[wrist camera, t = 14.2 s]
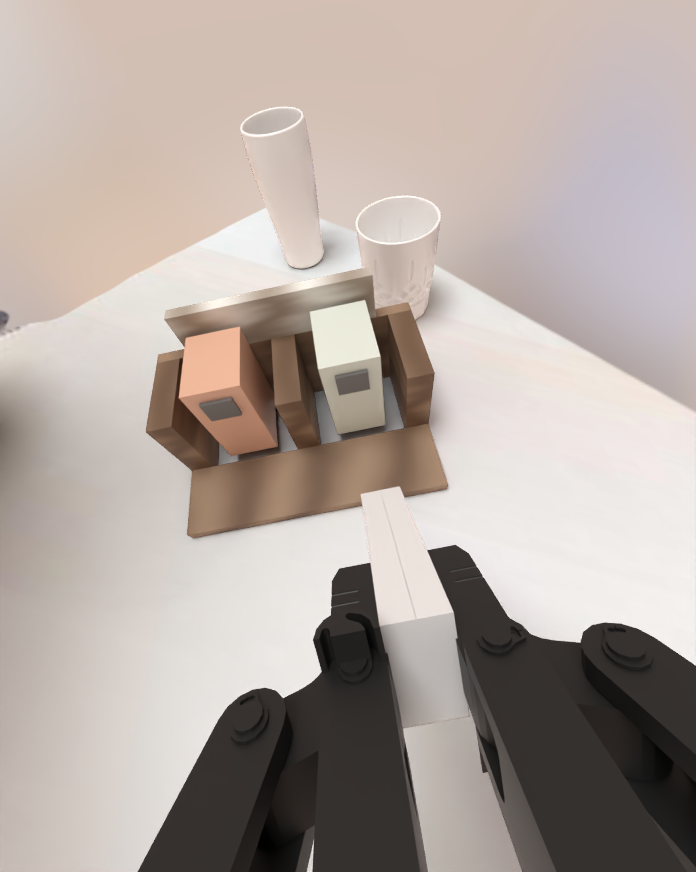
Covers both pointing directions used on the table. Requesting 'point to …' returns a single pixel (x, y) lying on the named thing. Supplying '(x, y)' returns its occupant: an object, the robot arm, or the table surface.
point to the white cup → (399, 249)
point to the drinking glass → (286, 180)
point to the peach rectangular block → (228, 391)
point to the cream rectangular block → (349, 366)
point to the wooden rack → (298, 410)
